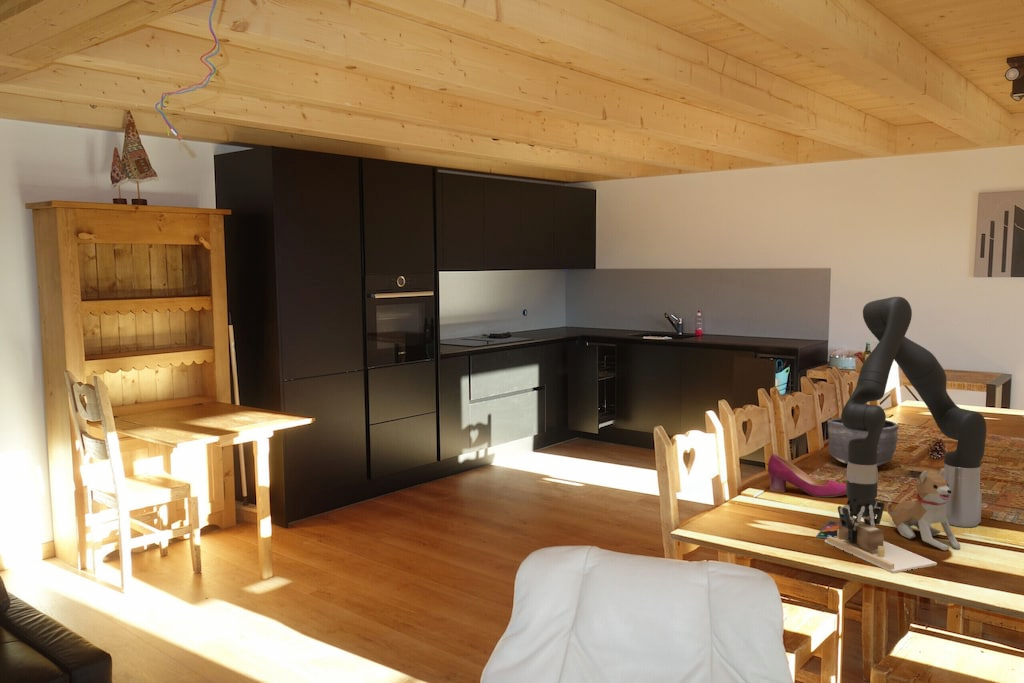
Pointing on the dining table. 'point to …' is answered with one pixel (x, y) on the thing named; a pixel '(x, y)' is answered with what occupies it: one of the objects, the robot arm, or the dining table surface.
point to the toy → (925, 510)
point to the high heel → (800, 479)
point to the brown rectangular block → (864, 535)
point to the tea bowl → (843, 436)
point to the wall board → (895, 557)
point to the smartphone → (829, 530)
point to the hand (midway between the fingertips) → (860, 541)
